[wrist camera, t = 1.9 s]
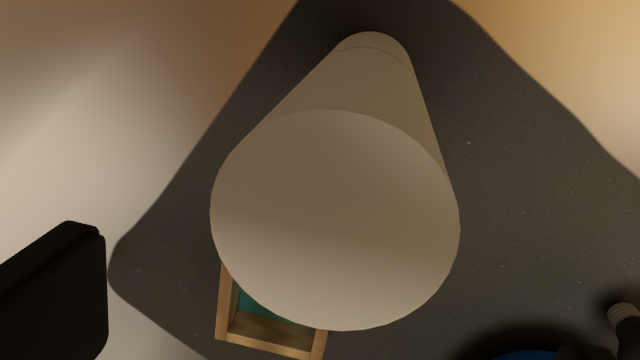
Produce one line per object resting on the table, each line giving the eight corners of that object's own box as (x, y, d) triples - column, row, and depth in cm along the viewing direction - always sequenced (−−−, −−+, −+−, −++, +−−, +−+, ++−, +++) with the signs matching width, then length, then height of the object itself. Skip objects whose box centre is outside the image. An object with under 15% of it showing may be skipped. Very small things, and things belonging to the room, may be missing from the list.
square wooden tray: (228, 311, 47) (214, 338, 43) (237, 225, 42) (222, 248, 39) (325, 334, 46) (320, 364, 42) (345, 250, 42) (341, 275, 38)
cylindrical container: (307, 82, 36) (166, 236, 13) (363, 11, 33) (308, 49, 10) (372, 137, 37) (345, 366, 14) (432, 72, 34) (518, 228, 11)
